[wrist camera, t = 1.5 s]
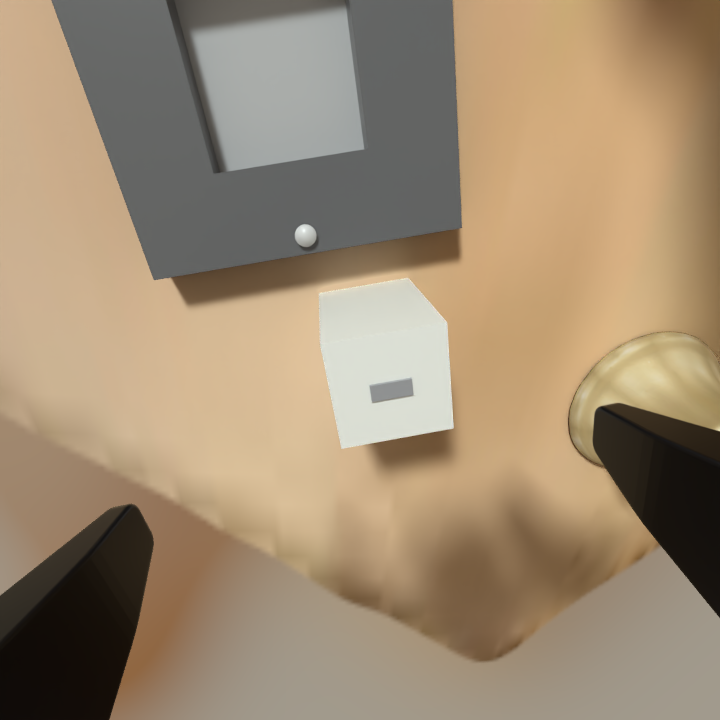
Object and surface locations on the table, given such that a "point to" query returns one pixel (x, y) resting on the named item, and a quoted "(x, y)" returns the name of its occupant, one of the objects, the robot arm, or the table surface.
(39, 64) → the table surface
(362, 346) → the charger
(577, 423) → the hand bell
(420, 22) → the outlet plate
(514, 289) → the table surface
